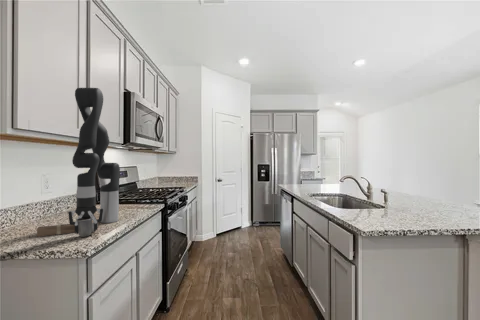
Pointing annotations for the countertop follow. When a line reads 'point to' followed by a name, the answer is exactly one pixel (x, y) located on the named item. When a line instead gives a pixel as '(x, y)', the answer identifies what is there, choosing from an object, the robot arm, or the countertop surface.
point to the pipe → (85, 227)
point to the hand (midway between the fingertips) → (86, 232)
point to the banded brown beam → (55, 229)
